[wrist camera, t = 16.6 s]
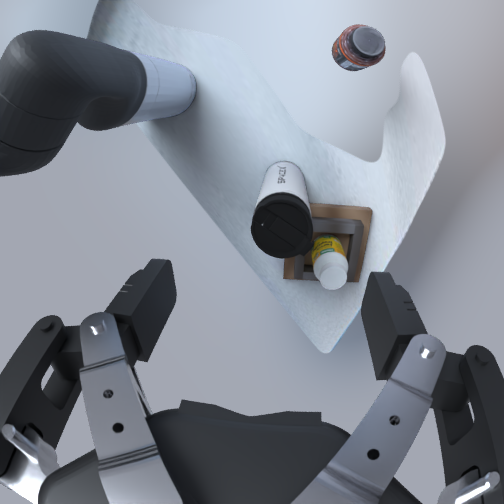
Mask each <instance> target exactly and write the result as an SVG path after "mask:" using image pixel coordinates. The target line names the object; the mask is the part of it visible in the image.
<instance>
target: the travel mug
mask: <svg viewBox="0 0 504 504" xmlns="http://www.w3.org/2000/svg"><path fill="white" fill-rule="evenodd" d="M251 234H252V237H253V240H254V241H255V243H256V245H257V246H258V247H259V248H260V249H261V250H262V251H263V252H265V253H266V254H268V255H270V256H273V257H276V258H291V257H295V256H297V255H299V254H301V255H302V256H305V255H306V254H307V253H308V252H309V251H310V249H311V248H312V247H313V245H314V241H312V242H311V240H312V237H313V224H312V216H311V210H310V205H309V200H308V195H307V190H306V185H305V181H304V176H303V173H302V171H301V170H300V168H299V167H298V166H297V165H295V164H294V163H292V162H288V161H280V162H276V163H274V164H273V165H271V166H270V167H269V168H268V170H267V171H266V174H265V177H264V180H263V183H262V187H261V190H260V193H259V196H258V200H257V203H256V206H255V210H254V213H253V218H252V225H251Z"/></svg>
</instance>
